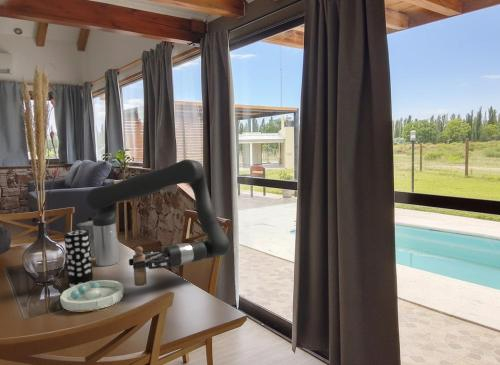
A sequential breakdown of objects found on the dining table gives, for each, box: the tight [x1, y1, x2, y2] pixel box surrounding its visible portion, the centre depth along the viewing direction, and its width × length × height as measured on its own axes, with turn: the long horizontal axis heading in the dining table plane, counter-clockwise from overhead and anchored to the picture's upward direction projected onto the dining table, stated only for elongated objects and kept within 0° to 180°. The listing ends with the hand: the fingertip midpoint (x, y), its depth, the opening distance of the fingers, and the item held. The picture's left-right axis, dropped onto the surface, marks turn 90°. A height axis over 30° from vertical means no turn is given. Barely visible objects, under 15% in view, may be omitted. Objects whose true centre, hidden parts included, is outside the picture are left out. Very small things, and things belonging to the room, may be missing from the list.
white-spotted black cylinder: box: [63, 229, 94, 289], centre depth 144 cm, size 8×8×20 cm
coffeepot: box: [76, 216, 96, 259], centre depth 182 cm, size 15×9×18 cm, turn 87°
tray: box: [59, 279, 124, 311], centre depth 131 cm, size 19×19×4 cm
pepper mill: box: [132, 245, 148, 287], centre depth 135 cm, size 4×4×13 cm
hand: (131, 264), depth 134 cm, fingers closed on pepper mill, 4 cm apart
